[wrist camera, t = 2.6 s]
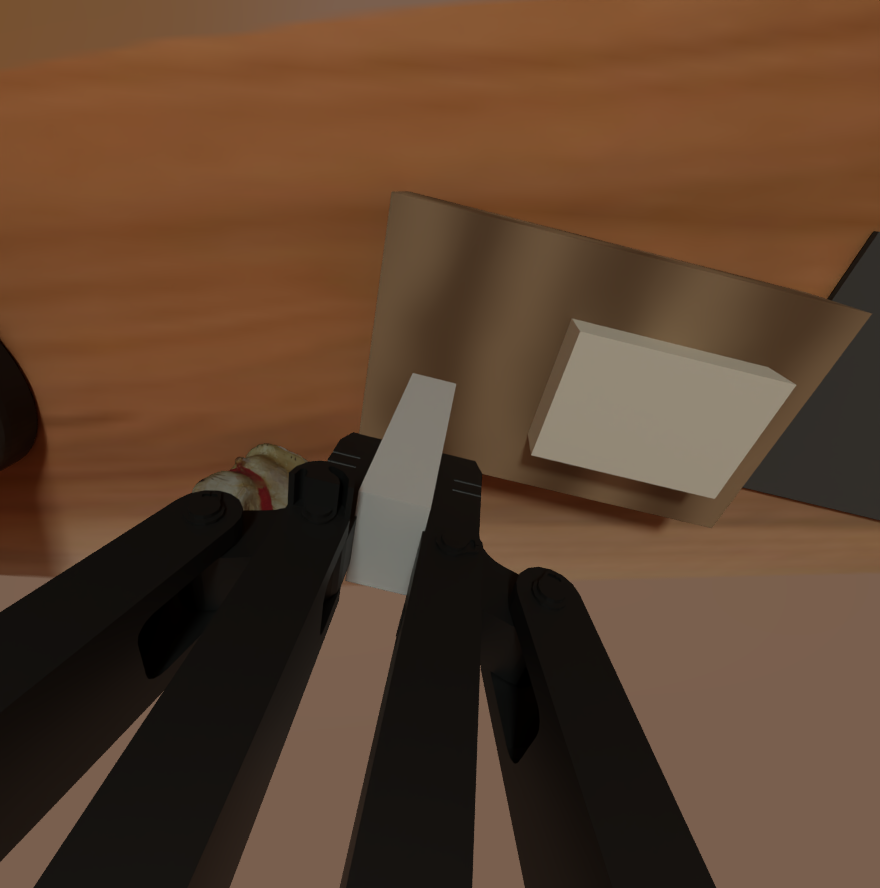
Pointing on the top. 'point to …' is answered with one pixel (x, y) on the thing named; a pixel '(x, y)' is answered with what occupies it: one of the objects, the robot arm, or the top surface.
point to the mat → (837, 415)
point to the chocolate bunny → (256, 478)
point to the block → (652, 409)
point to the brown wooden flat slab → (545, 325)
